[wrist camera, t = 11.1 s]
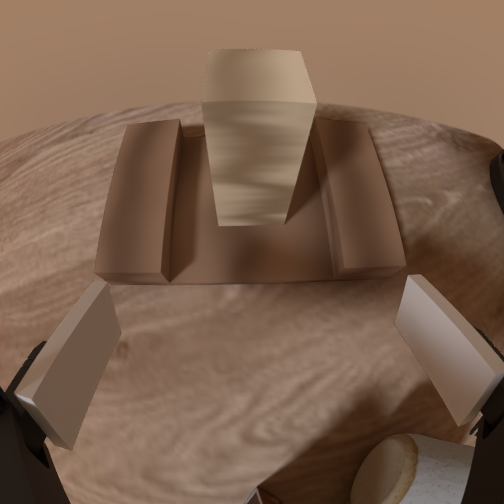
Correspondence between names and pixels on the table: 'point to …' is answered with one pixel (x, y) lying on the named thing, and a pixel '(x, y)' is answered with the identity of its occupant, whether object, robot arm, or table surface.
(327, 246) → the cradle
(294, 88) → the tall wooden block
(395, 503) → the ceramic mug
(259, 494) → the food container
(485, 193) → the table surface
